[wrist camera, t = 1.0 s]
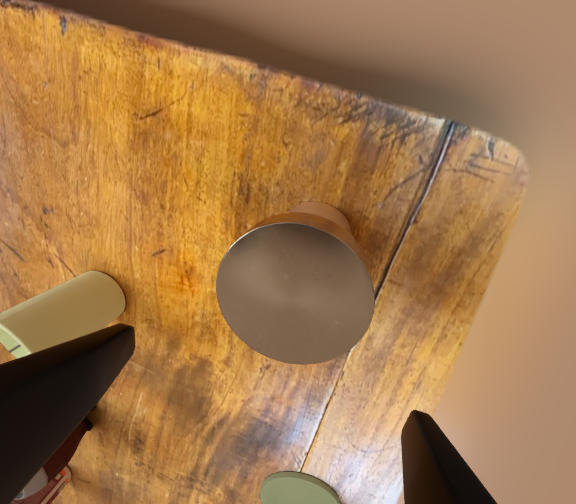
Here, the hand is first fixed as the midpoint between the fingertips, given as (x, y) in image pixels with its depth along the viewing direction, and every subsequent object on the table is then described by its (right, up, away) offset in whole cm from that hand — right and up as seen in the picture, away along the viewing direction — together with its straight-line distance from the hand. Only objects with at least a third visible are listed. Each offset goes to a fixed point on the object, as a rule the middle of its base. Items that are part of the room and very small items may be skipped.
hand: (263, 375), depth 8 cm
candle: (-17, 0, +18) cm, 24 cm away
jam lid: (+1, +2, +4) cm, 5 cm away
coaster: (+2, -24, +23) cm, 33 cm away
